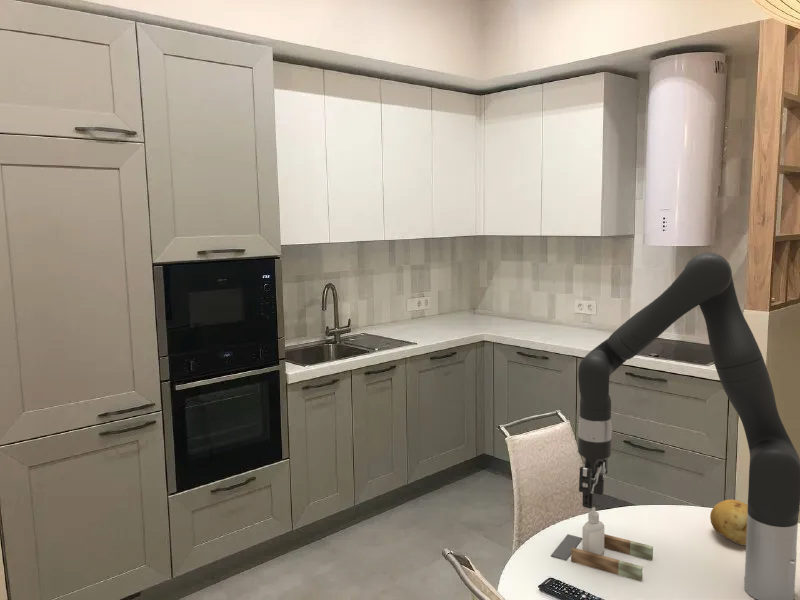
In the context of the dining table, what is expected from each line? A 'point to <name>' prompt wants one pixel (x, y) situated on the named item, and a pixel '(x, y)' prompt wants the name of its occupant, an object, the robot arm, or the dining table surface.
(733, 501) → the potato
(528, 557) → the dining table surface
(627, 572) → the walnut channel
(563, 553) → the plate
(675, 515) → the dining table surface
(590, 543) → the eye dropper bottle
